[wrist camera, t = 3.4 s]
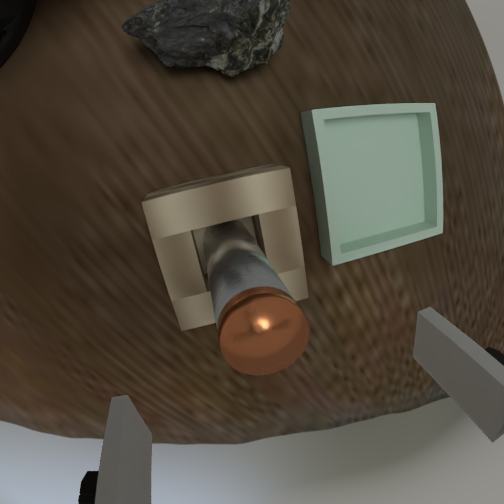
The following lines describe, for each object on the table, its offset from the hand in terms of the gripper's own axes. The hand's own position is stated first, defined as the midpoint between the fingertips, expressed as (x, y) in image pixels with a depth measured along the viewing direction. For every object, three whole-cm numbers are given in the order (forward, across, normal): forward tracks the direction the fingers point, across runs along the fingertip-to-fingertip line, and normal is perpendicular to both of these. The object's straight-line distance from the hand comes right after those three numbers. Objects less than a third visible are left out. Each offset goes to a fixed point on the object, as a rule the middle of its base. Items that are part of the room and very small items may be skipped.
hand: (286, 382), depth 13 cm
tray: (+20, +17, +4) cm, 27 cm away
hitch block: (+20, 0, 0) cm, 20 cm away
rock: (+20, +2, +20) cm, 28 cm away
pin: (+19, 0, 0) cm, 19 cm away
